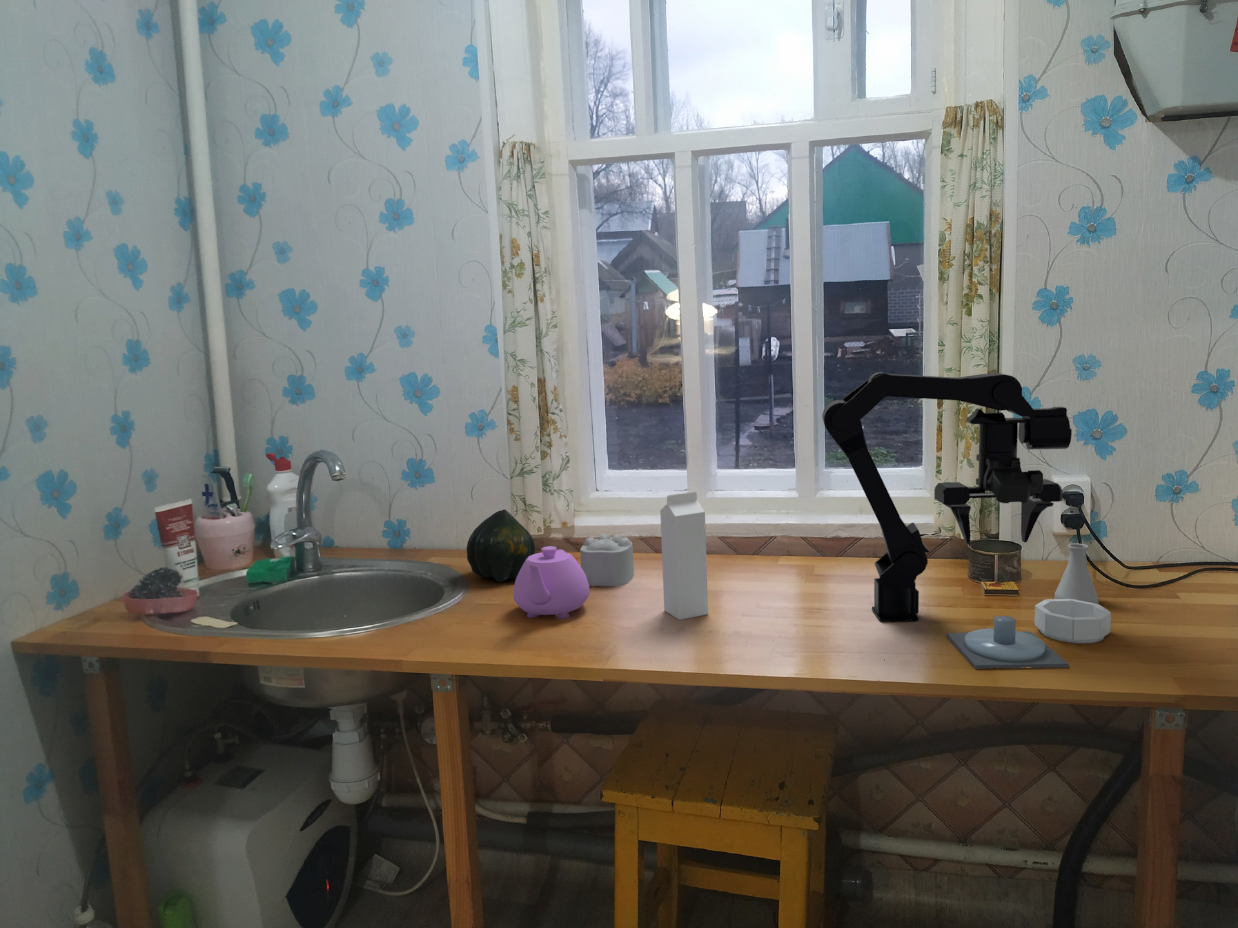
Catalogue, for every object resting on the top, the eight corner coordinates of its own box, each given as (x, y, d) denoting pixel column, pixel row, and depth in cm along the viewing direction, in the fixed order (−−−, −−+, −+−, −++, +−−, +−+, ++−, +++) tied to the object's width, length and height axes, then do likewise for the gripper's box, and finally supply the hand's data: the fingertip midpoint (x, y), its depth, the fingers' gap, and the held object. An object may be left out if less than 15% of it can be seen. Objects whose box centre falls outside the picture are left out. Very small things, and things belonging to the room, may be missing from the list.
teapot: (573, 632, 143) (569, 564, 141) (495, 629, 146) (491, 563, 144) (601, 596, 162) (598, 535, 160) (532, 594, 165) (528, 535, 163)
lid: (978, 661, 121) (979, 632, 120) (955, 634, 131) (955, 607, 131) (1057, 661, 120) (1058, 631, 119) (1027, 634, 130) (1028, 606, 130)
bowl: (1053, 644, 127) (1054, 620, 127) (1026, 623, 137) (1027, 599, 136) (1119, 643, 126) (1120, 618, 126) (1088, 621, 136) (1089, 598, 135)
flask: (1105, 607, 142) (1108, 551, 141) (1060, 606, 144) (1062, 550, 142) (1091, 594, 149) (1093, 540, 148) (1047, 593, 151) (1049, 540, 149)
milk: (708, 614, 149) (705, 494, 145) (678, 620, 146) (674, 498, 143) (692, 605, 154) (689, 488, 151) (663, 610, 152) (659, 492, 148)
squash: (468, 567, 167) (509, 505, 171) (445, 555, 180) (483, 498, 184) (520, 602, 173) (559, 542, 177) (494, 588, 186) (531, 532, 190)
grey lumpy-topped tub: (577, 585, 170) (575, 544, 169) (593, 568, 182) (590, 529, 181) (626, 586, 168) (624, 545, 166) (639, 568, 180) (637, 530, 179)
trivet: (975, 669, 120) (975, 665, 120) (946, 636, 133) (946, 633, 132) (1068, 667, 119) (1068, 663, 119) (1030, 634, 132) (1030, 631, 131)
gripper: (955, 459, 129) (954, 557, 131) (1080, 455, 127) (1076, 553, 130) (933, 449, 140) (933, 539, 142) (1048, 445, 138) (1045, 536, 140)
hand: (995, 542), depth 138 cm, fingers open, 9 cm apart
